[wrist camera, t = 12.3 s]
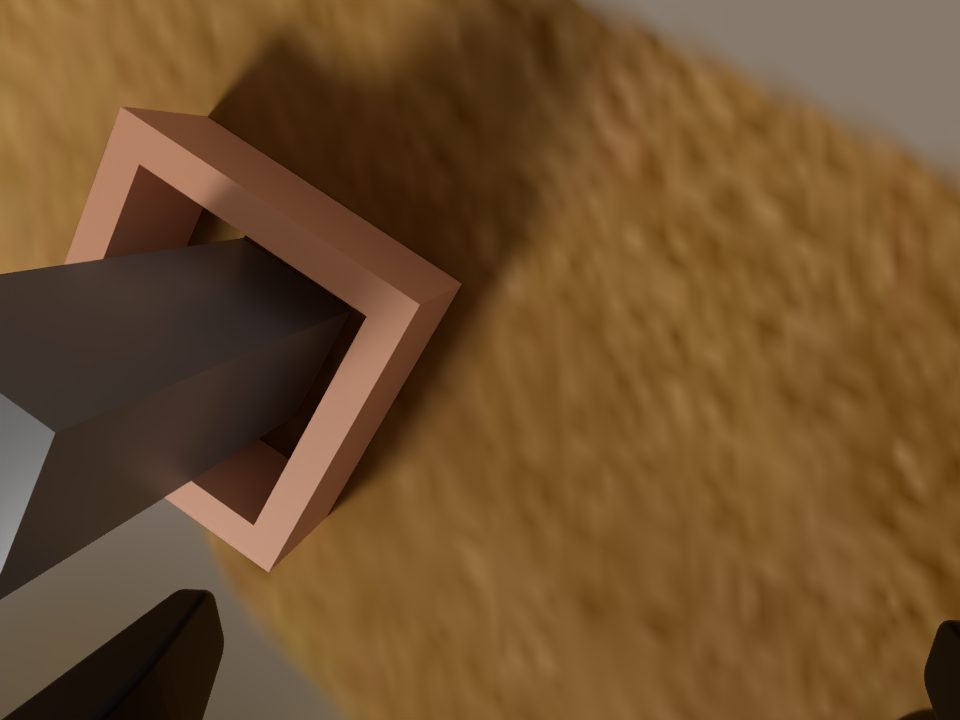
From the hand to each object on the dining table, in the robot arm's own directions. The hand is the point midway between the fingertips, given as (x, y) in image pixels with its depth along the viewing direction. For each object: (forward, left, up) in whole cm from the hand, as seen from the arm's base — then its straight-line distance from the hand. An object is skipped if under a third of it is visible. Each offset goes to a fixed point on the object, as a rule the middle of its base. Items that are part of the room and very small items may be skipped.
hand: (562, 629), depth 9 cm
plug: (+3, +11, -12) cm, 16 cm away
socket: (+3, +11, -12) cm, 16 cm away
